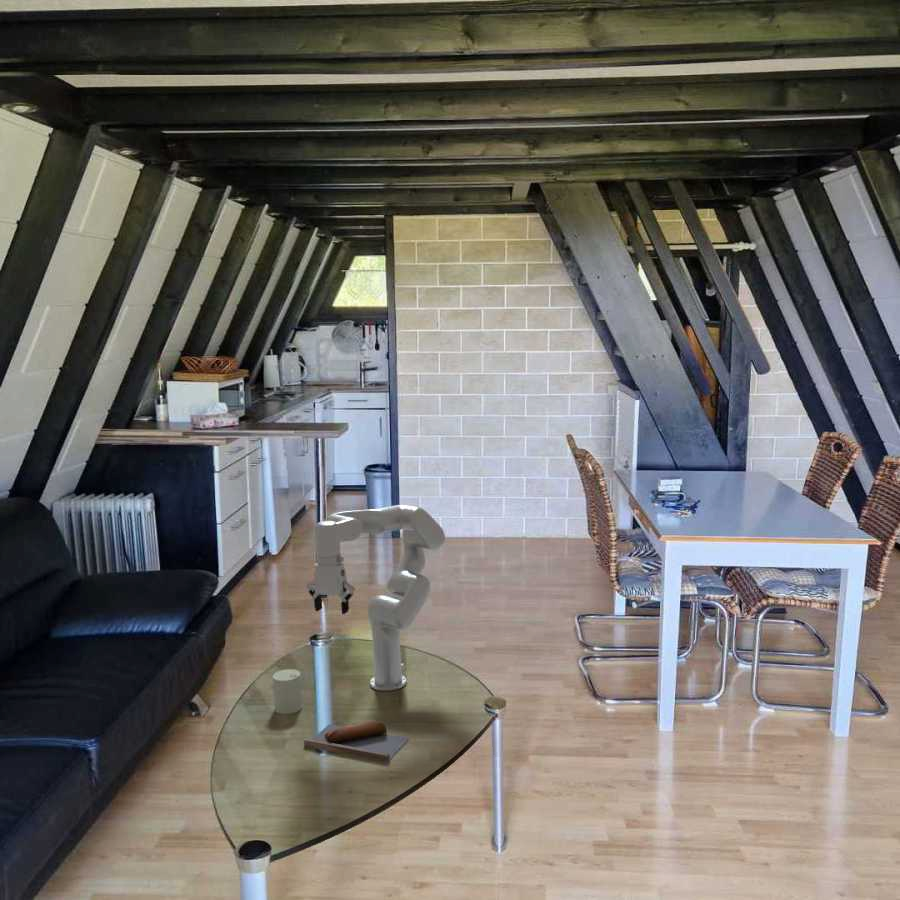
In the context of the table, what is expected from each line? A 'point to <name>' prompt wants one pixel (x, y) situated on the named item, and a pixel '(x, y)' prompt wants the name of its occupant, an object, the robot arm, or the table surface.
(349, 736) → the brown elongated rounded piece
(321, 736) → the mat
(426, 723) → the table surface
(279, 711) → the can
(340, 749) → the walnut rail
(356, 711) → the table surface
